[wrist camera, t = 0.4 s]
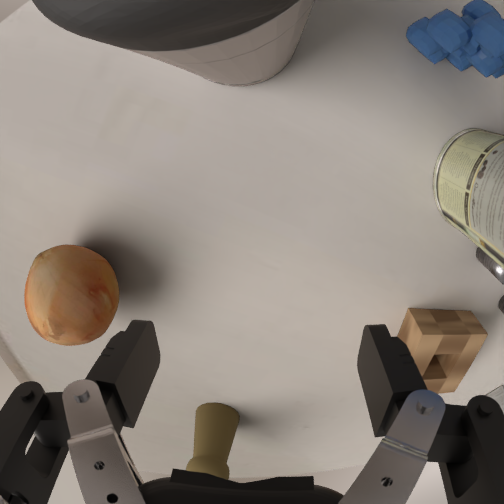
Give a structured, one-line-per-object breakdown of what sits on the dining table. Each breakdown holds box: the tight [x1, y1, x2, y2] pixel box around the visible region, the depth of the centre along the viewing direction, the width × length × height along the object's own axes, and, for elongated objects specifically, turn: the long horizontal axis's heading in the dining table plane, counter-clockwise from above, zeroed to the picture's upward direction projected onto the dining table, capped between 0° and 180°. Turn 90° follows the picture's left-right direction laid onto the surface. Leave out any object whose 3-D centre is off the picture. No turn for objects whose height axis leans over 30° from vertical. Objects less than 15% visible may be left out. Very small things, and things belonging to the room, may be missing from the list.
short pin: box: [476, 247, 504, 284], centre depth 26 cm, size 2×2×5 cm
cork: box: [186, 403, 240, 480], centre depth 35 cm, size 6×6×11 cm
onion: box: [25, 245, 119, 346], centre depth 27 cm, size 10×10×10 cm
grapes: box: [406, 0, 504, 78], centre depth 14 cm, size 12×7×12 cm, turn 91°
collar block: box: [397, 308, 488, 394], centre depth 31 cm, size 9×9×4 cm
